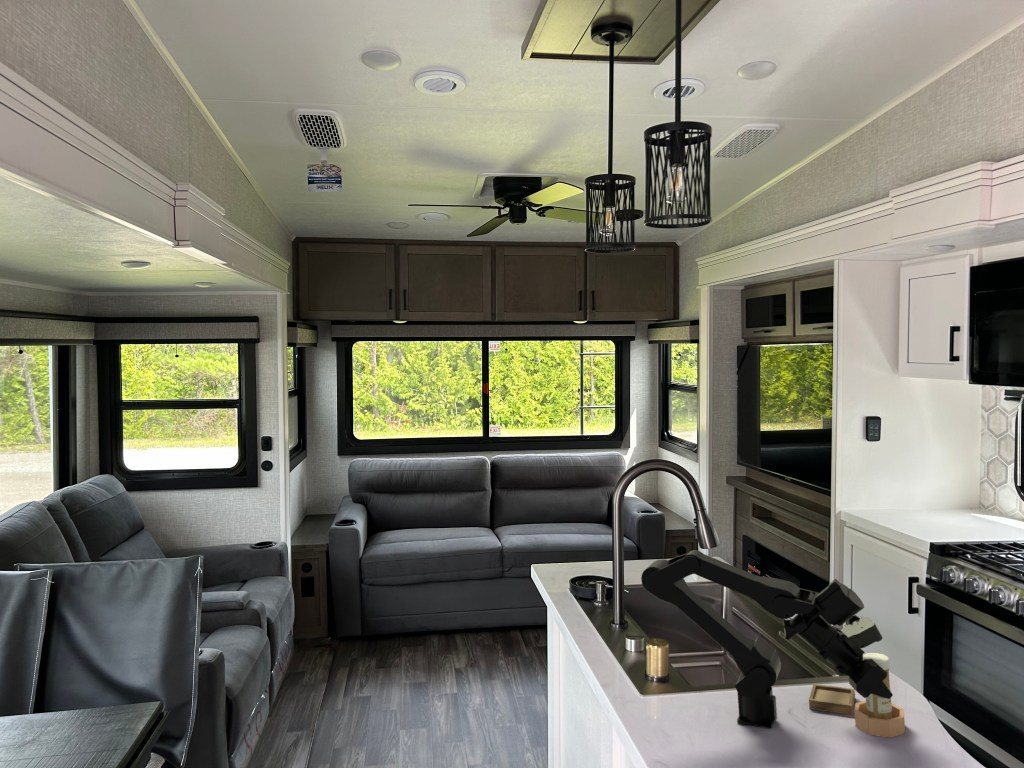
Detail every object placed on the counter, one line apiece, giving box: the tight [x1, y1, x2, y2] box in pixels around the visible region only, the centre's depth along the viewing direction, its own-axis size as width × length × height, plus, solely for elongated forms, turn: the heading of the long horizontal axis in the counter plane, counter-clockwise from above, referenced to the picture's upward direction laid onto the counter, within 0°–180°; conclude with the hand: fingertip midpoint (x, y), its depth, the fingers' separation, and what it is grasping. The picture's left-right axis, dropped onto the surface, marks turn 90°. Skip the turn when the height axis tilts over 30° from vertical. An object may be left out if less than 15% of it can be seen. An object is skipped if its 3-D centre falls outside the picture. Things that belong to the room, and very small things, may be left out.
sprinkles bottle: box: [863, 652, 892, 720], centre depth 143 cm, size 5×5×13 cm
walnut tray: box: [808, 683, 856, 716], centre depth 153 cm, size 8×8×2 cm
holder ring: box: [854, 700, 906, 738], centre depth 143 cm, size 8×8×3 cm
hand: (885, 691), depth 143 cm, fingers open, 4 cm apart
